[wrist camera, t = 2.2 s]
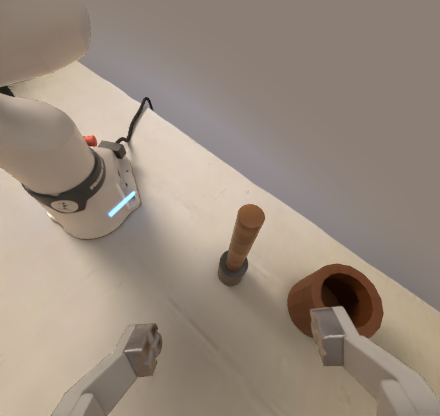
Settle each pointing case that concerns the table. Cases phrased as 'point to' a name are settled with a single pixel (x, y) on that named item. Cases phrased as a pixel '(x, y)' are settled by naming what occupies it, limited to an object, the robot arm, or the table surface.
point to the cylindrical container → (337, 298)
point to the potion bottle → (6, 91)
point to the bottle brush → (240, 244)
